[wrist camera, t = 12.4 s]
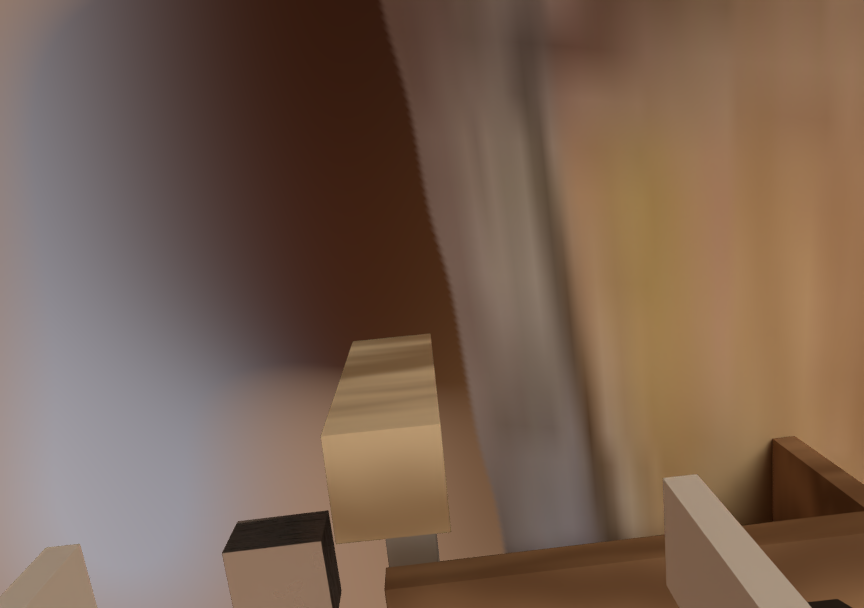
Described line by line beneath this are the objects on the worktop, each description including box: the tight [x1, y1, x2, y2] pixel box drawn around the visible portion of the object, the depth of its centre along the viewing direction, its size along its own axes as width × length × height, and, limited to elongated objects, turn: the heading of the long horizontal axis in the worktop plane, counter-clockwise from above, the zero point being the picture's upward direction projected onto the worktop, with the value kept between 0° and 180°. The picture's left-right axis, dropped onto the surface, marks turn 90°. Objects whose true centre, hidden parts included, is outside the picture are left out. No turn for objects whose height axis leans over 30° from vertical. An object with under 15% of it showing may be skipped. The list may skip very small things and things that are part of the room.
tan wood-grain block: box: [321, 334, 451, 567], centre depth 29 cm, size 17×4×12 cm, turn 6°
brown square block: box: [222, 510, 342, 608], centre depth 34 cm, size 5×5×3 cm
